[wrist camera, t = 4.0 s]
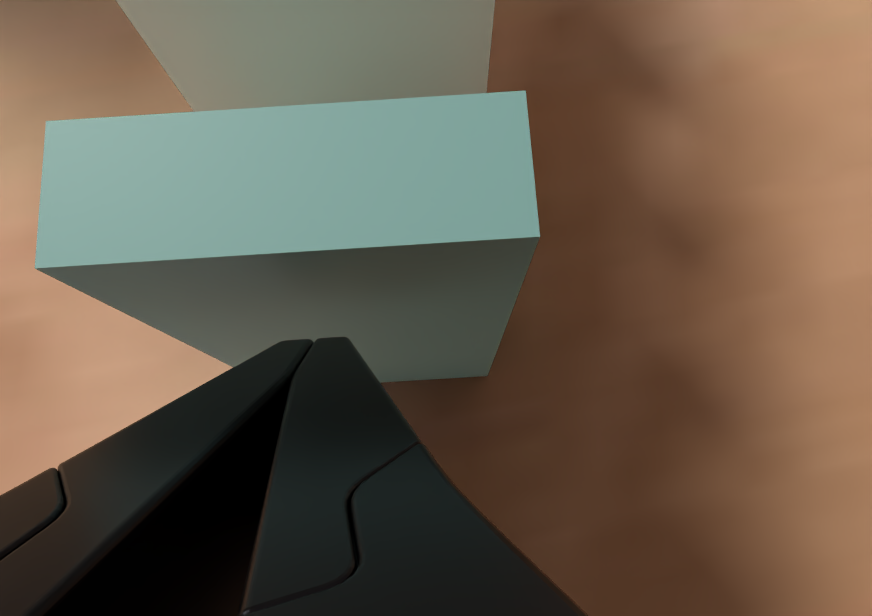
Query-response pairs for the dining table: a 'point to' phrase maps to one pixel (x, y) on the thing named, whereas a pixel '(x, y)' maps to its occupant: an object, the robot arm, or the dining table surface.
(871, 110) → the dining table surface
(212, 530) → the robot arm
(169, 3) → the domino
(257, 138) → the domino
